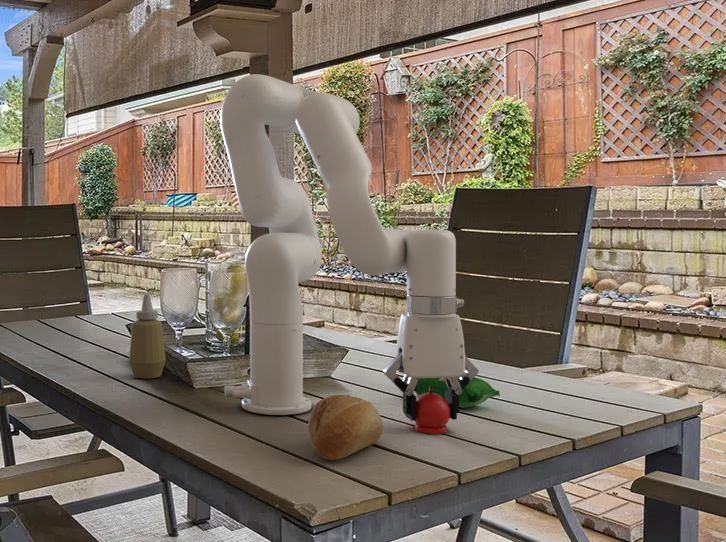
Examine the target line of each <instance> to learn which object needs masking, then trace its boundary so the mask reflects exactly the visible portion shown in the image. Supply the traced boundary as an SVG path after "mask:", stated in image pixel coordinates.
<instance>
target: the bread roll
mask: <svg viewBox="0 0 726 542" xmlns="http://www.w3.org/2000/svg"><path fill="white" fill-rule="evenodd" d="M383 431H384V425H383V419H382V416H381V415H380V413H379V411H378V409H377V408H376V407H375V406H374V405H373V403H372V402H370V401H367V400H365V399H363V398H361V397H357V396H351V395H350V394H332V395H328V396H326V397H324V398H322V399H319V401H318V402H316V403H315V405H314V406H313V408H312V411H311V412H310V414H309V418H308V422H307V434H308V438H309V442H310V445H311V447H312V449H313V450H314V451H315V453H316V454H317V455H318V456H319V457H321V458H322V459H325V460H331V461H332V460H333V461H334V460H341V459H344V458H346V457H348V456H350V455H352V454H355V453H357V452H359V451H361V450H363V449H365V448H368V447H370V446H372V445H374V444H376V443H377V442H378V441H379V439H381V437H382V435H383Z"/></svg>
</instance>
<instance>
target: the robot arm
mask: <svg viewBox="0 0 726 542" xmlns="http://www.w3.org/2000/svg"><path fill="white" fill-rule="evenodd" d="M226 92H227V93H226V94H225V96H224V98H223V101H222V104H221V108H220V117H219V123H220V130H221V135H222V139H223V143H224V146H225V150H226V153H227V156H228V161H229V165H230V171H231V177H232V180H233V185H234V189H235V194H236V198H237V203H238V207H239V210H240V213H241V216H242V218H243V219H244V221H245V222H246V223H248V224H249V225H251V226H254V227H258V228H268V230H269V233H264V234H262V235H260V236H258V237H257V238H256V239H253V241H252V242H251V243H250V245H249V246H248V247H247V250H246V253H245V257H244V270H245V276H246V281H247V282H246V283H247V287H248V297H249V298H248V299H249V300H248V301H249V367H250V368H249V374H250V375H249V379H246V383H241V385H224V388H223V389H224V397H232V398H233V399H241V398H242V399H241V407H242V409H244V410H245V411H248V412H250V413H254V414H259V415H267V416H291V415H299V414H304V413H307V412H308V411H310V410H311V409H312V403H313V402H312V400H311V399H309V398H307V397H306V396H304V321H303V318H304V317H303V315H304V313H303V312H304V311H303V300H302V296H301V295H302V294H301V292H300V286H299V283H304V282H307V281H309V280H310V279H312V278H313V277H315V276H316V275H317V273H318V272H319V271H320V269H321V265H322V259H323V258H322V257H323V254H322V246H321V241H320V238H319V234H318V230H317V226H316V221H315V218H314V213H313V208H312V205H311V202H310V199H309V196H308V193H307V192H306V191H305V189H304V188H303V186H301V184H300V183H298V182H297V181H296V180H294V179H291V178H289V177H284V176H282V174H281V172H280V169H279V165H278V162H277V161H278V160H277V157H276V152H275V149H274V146H273V144H272V141H271V139H270V137H269V135H268V134H267V131H266V127H265V125H266V126H271V127H275V128H279V129H282V130H286V131H290V132H293V133H295V134H299V135H300V136H301V138H302V140H303V142H304V145H305V146H306V148H307V151H308V153H309V154H310V156H311V158H312V160H313V163H314V164H315V167H316V169H317V172H318V174H319V175H320V178H321V180H322V183H323V185H324V187H325V196H326V203H327V210H328V216H329V219H330V222H331V226H332V228H333V231H334V233H335V235H336V237H337V239H338V241H339V244H340V246H341V248H342V250H343V252H344V254H345V256H346V257H347V259H348V260H349V262H350V263H351V265H352V266H353V267H354V268H355V269H356V270H357V271H359V272H360V273H362V274H364V275H367V276H378V275H379V276H380V275H387V274H394V273H401V272H406V313H402V314H401V315H400V319H399V324H398V331H397V338H396V349H395V350H396V351H395V357H394V358H393V359H392V360H391V361H390V362H389V363H388V364H387V366H385V368H383V370H382V373H383V375H384V376H385V377H387V378H388V379H389V381H391V382H392V383H393V384H394V385H395V387H397V389H399V391H400V392H401V393H402V412H403V414H404V415H405V417H406V418H407V419H408V420H409V421H411V422H415V420H416V398H417V396H416V395H415V391H414V389H415V387H416V384H417V381H418V379H419V378H444V379H445V382H446V384H447V387H448V391H446V392H445V400H446V401H447V403H448V405H449V407H450V418H449V419H451V420H453V421H454V420H457V419H458V413H459V412H460V407H459V395H460V394H461V393H462V390H463V389H464V388H465V387H466V386H467V385H468V384H469V382H470V380H472V379H473V378H474V377H476V376H477V375H478V374H479V372H480V371H479V368H477V367H476V365H475V364H474V363H473V362H472V361H471V360H470V359H469V357H467V356H466V352H465V350H466V349H465V339H464V338H465V337H464V332H463V326H462V322H461V317H460V315H459V314H456V313H457V312H458V309H459V308H463V307H464V306H465V302H464V301H465V300H464V299H463V298H458V296H457V295H456V293H457V292H456V291H457V287H456V286H457V282H456V281H457V280H456V279H457V276H456V275H457V261H456V260H457V239H456V236H455V234H454V233H453V232H452V231H450V230H447V229H415V230H407V229H401V228H391V227H389V228H388V227H387V228H386V227H383V224H382V223H381V221H380V219H379V217H378V214H377V213H376V210H375V208H374V205H373V202H372V200H371V196H370V192H369V183H370V179H371V175H372V171H373V167H372V162H371V160H370V158H369V157H368V155H367V153H366V151H365V149H364V146H363V145H362V143H361V141H360V139H359V137H358V135H357V134H358V132H359V129H360V122H361V121H360V114H359V112H358V110H357V108H356V106H354V104H353V103H352V102H351V101H349V100H347V99H345V98H343V97H340V96H338V95H335V94H333V93H329V92H321V91H320V92H318V91H314V90H311V89H308V88H306V87H302V86H299V85H296V84H293V83H291V82H288V81H284V80H281V79H279V78H276V77H273V76H270V75H265V74H259V73H258V74H257V73H255V74H248V75H244V76H243V77H240V78H239V79H238V80H236V81H235V82H234V83H233V84H232V85H231V86H230V88H229V89H228V91H226ZM397 372H399V373H401V374H404V375H403V378H401V377H399V375H398V374H397ZM458 376H459V377H458ZM457 377H458V378H457Z"/></svg>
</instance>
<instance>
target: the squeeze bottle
mask: <svg viewBox="0 0 726 542" xmlns="http://www.w3.org/2000/svg"><path fill="white" fill-rule="evenodd" d="M158 312H159V311H158V310H154V308H153V304H152V300H151V294H148V293H145V294H143V298H142V304H141V308H140V310H136V312H135V313H136V314H135V315H136V317H135V318H136V320H134V321H133V322H132V323H131V324H132V325H131V332H130V342H129V343H130V344H129V354H128V362H129V366H130V368H131V371H132V374H133V377H134V378H136V379H143V380H149V379H156V378H160V377H161V376H162V374H163V370H164V367H165V364H166V360H167V359H166V348H165V340H164V329H163V323H162V321H160V320H159V319H158V318H159V317H158V316H159V315H158V314H159V313H158Z"/></svg>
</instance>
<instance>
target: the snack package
mask: <svg viewBox="0 0 726 542" xmlns="http://www.w3.org/2000/svg"><path fill="white" fill-rule="evenodd" d="M458 377H459V376H458ZM458 377H457V378H458ZM429 386H432V393H436V394H438V395H440V396H442V397H443V398H444V399H445V392H446V391H448V387H447V384H446V382H445V379H444V378H419V379H418V381H417V384H416V387H415V389H414V393H415V394H416V395H417V397H418V396H419V395H421V394H423V393H428V392H429ZM496 396H498V397H501V394H500V390H496V389H495V388H494V387H492V385H491V384H490V383H489V382H488V381H486V380H484V379H481V378H479V377H476V376H475V377H474V378H473V379H472V380H470V382H469V384H468V385H467V386H466V387H465V388H464V389H463V390H462V393H461V394H460V395H459V408H464V409H468V408H471V407H474V406H477V405H480V404H482V403H485V402H486V401H487V400H488V399H489V398H493V397H496Z"/></svg>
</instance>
